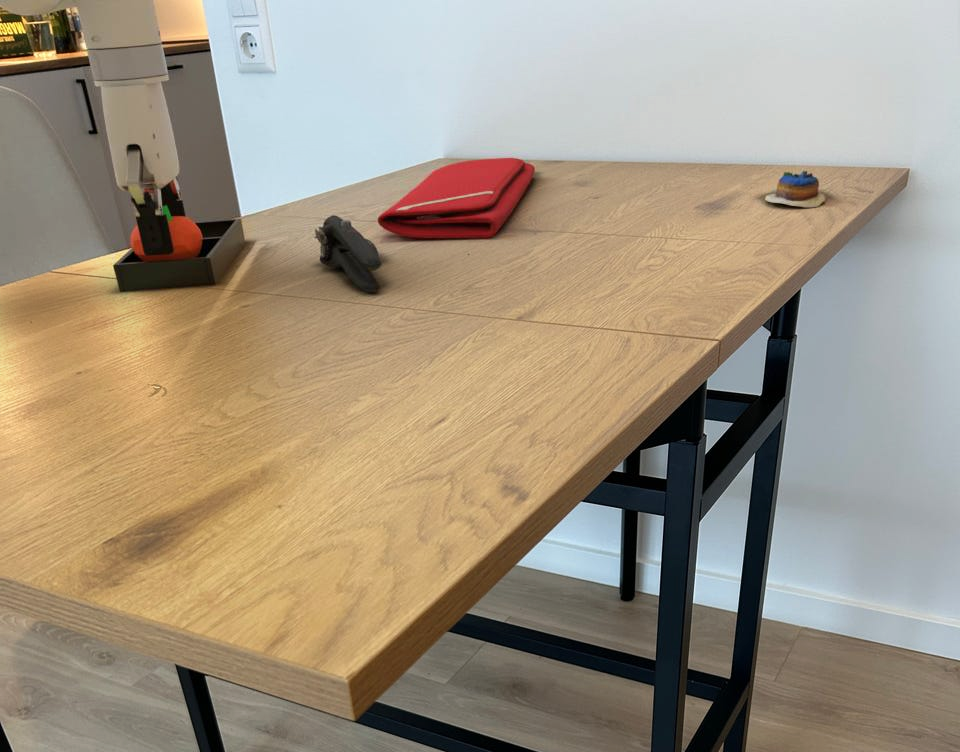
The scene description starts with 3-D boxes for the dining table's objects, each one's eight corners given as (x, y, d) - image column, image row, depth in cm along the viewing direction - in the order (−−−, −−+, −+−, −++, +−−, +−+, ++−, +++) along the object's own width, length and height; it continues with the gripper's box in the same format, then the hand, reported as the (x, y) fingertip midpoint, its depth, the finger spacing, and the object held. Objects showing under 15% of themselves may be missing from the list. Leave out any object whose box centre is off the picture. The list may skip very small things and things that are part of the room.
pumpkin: (135, 263, 117) (121, 204, 113) (204, 254, 118) (192, 196, 115) (138, 277, 111) (124, 215, 107) (211, 268, 113) (199, 207, 109)
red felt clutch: (537, 177, 157) (536, 150, 154) (499, 238, 123) (498, 206, 121) (439, 181, 159) (436, 155, 157) (376, 242, 126) (372, 211, 124)
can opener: (313, 263, 119) (305, 213, 116) (370, 255, 120) (364, 206, 117) (341, 300, 104) (333, 243, 101) (405, 290, 106) (400, 234, 103)
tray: (121, 297, 111) (112, 265, 109) (163, 253, 129) (157, 224, 127) (216, 290, 111) (209, 257, 109) (246, 247, 129) (241, 218, 127)
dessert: (821, 203, 124) (798, 160, 123) (774, 234, 128) (751, 193, 128) (835, 196, 130) (813, 154, 129) (790, 225, 134) (768, 186, 134)
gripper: (115, 63, 111) (153, 231, 121) (67, 76, 96) (114, 266, 106) (183, 58, 111) (215, 227, 121) (144, 71, 96) (184, 262, 106)
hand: (167, 244), depth 113 cm, fingers closed on pumpkin, 7 cm apart
